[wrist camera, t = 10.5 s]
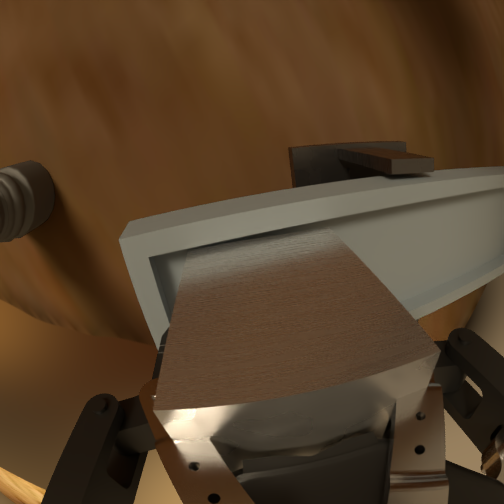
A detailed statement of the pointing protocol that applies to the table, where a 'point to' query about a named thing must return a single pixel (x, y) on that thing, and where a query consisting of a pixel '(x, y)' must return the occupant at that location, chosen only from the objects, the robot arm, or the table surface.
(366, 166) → the pivot stand
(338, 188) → the beam
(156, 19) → the table surface
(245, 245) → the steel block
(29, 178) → the candle holder
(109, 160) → the table surface
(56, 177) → the table surface
